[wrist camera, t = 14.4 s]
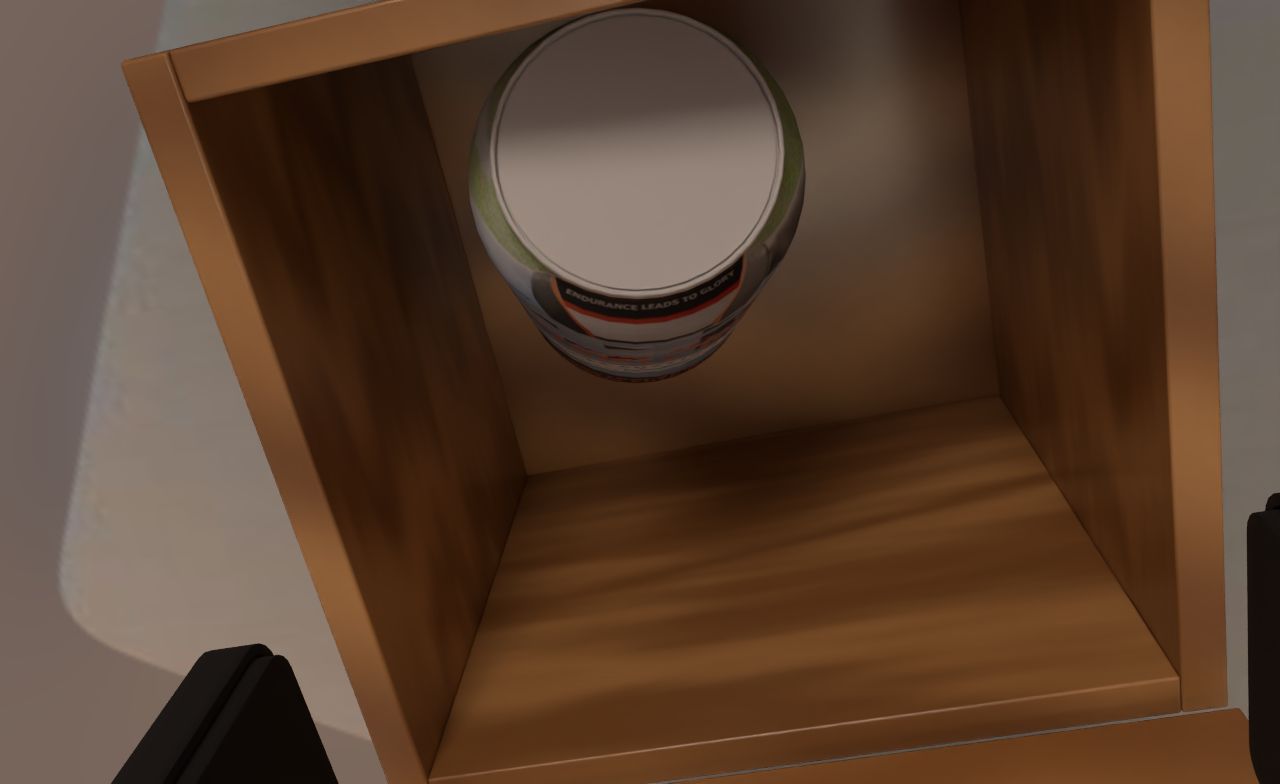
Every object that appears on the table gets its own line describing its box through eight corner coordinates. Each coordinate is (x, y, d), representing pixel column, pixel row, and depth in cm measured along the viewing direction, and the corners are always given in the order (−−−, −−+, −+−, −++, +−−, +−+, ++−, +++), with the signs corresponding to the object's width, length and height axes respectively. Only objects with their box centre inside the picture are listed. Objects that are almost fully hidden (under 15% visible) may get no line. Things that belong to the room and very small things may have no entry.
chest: (374, 7, 30) (117, 62, 17) (970, -132, 28) (1205, -192, 15) (513, 490, 35) (399, 817, 22) (1023, 403, 33) (1229, 707, 20)
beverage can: (525, 377, 30) (433, 426, 18) (526, 103, 30) (432, -29, 18) (755, 380, 30) (813, 432, 18) (762, 105, 30) (825, -27, 18)
